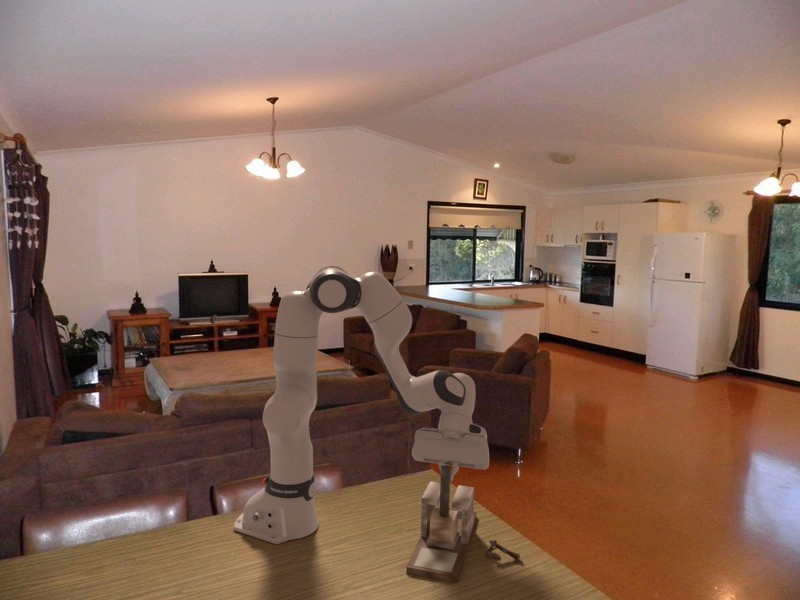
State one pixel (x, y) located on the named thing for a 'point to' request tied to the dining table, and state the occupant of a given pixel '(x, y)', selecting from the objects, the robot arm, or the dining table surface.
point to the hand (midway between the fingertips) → (446, 480)
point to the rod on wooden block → (444, 517)
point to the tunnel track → (435, 558)
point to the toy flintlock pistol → (503, 549)
